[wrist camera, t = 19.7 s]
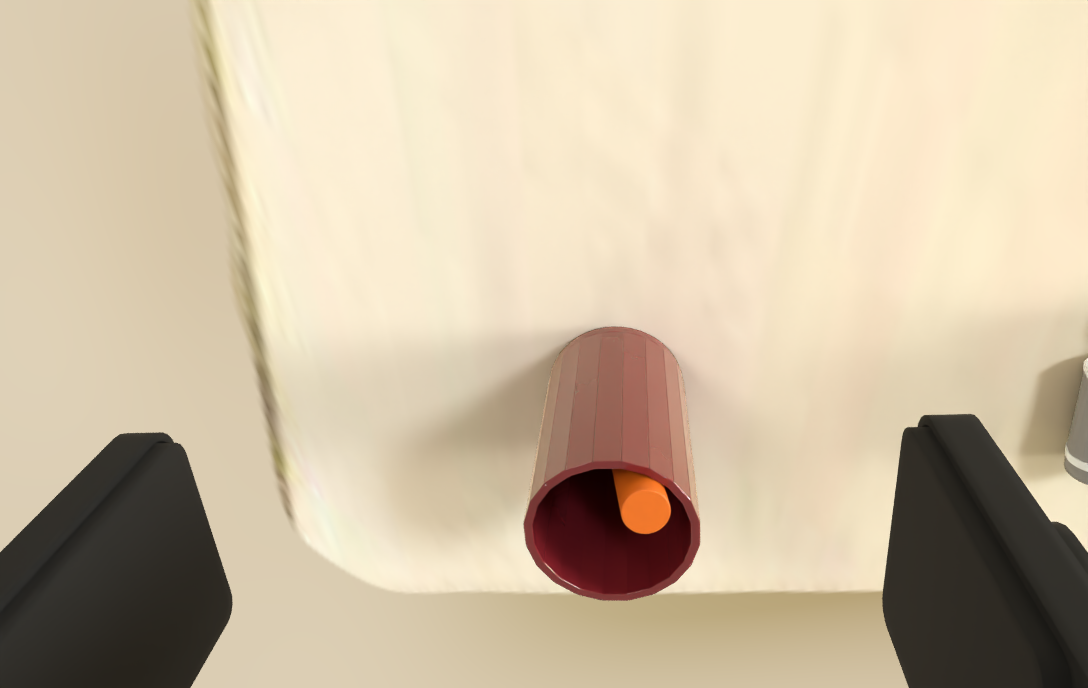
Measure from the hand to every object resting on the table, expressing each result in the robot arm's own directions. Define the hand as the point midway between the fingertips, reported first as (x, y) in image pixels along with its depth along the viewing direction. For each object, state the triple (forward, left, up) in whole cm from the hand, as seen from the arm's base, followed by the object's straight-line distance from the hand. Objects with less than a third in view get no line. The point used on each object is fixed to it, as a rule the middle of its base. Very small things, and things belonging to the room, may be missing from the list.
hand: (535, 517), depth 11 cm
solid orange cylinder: (+14, 0, -28) cm, 31 cm away
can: (+14, 0, -28) cm, 32 cm away
